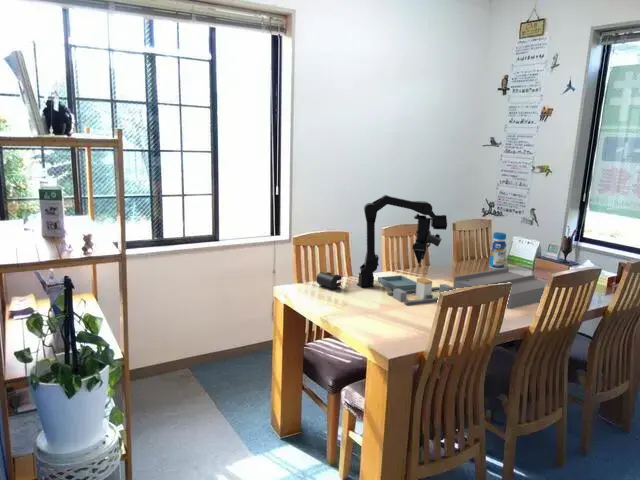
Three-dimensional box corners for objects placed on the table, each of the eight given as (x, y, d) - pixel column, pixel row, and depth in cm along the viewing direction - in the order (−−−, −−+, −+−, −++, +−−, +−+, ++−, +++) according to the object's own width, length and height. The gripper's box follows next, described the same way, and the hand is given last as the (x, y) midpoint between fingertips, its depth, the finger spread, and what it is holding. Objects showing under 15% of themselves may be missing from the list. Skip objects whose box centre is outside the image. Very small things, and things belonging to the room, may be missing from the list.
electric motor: (315, 286, 236) (316, 272, 235) (326, 284, 241) (327, 270, 240) (330, 291, 229) (331, 277, 228) (341, 288, 234) (342, 274, 233)
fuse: (423, 299, 222) (424, 281, 221) (415, 295, 228) (416, 278, 226) (430, 298, 224) (432, 281, 222) (423, 294, 229) (424, 277, 228)
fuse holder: (406, 305, 213) (407, 296, 212) (387, 294, 227) (387, 286, 226) (459, 299, 224) (460, 290, 223) (437, 289, 238) (438, 281, 238)
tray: (395, 291, 232) (396, 286, 232) (377, 282, 247) (377, 277, 247) (420, 289, 238) (420, 284, 237) (401, 280, 252) (401, 275, 252)
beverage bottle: (493, 265, 292) (497, 231, 288) (507, 268, 285) (510, 233, 281) (485, 267, 286) (489, 232, 282) (498, 270, 280) (502, 235, 276)
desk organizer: (563, 297, 235) (564, 282, 234) (509, 310, 213) (511, 294, 212) (505, 280, 260) (507, 267, 259) (452, 290, 239) (454, 276, 237)
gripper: (438, 233, 222) (435, 267, 225) (443, 227, 240) (440, 259, 243) (413, 231, 226) (410, 264, 229) (419, 225, 243) (417, 256, 246)
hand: (420, 261), depth 237 cm, fingers open, 9 cm apart
